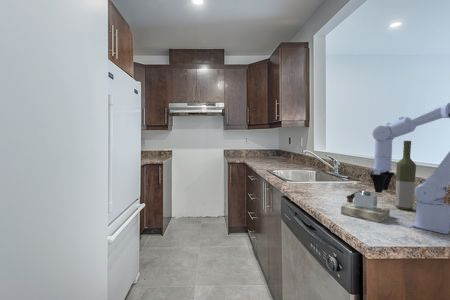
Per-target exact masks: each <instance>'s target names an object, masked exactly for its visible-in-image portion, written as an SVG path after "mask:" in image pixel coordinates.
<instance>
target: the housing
mask: <svg viewBox="0 0 450 300" xmlns="http://www.w3.org/2000/svg"><path fill="white" fill-rule="evenodd" d="M361 191H362V192H358V191H357V192H358V193H355V192H354V193H355V197H354V198H353V200H354V201H353V202H354V206H357V207H363V208H368V209H375V208H377V206H378V194H373V193H372V192H371V191H368V190H361Z"/></svg>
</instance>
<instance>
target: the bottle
mask: <svg viewBox="0 0 450 300" xmlns="http://www.w3.org/2000/svg"><path fill="white" fill-rule="evenodd" d="M411 147H412V140H403V149H402V150H403V152H402V154H403V155H402V158H401V159H400V160H399V161H397V162H396V177H395V182H396V183H395V207H396V208H397V209H399V210H403V211H411V210H413V209H414V199H415V198H414V197H415V188H416V187H415V185H416V184H415V183H416V173H417V171H416V170H417V164H416V162H414V161H413V160H412V158H411V152H412V151H411V149H412V148H411Z"/></svg>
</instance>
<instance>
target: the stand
mask: <svg viewBox="0 0 450 300" xmlns="http://www.w3.org/2000/svg"><path fill="white" fill-rule="evenodd" d="M390 212H391V209H390V208H389V207H383V206H378V205H377V208H375V209H368V208H363V207H357V206H354V201H353V202H351V203H349V202H347V203H346V204H344V205H341V208H340V215H341V214H342V215H345V216H348V217H349V216H351V217H355V218H358V219H362V220H363V219H364V220H368V221H370V222H371V221H372V222H377V223H381V222H383V221H384V220H386V219H387V218H389V217H390V214H391V213H390Z"/></svg>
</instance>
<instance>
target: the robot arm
mask: <svg viewBox="0 0 450 300" xmlns="http://www.w3.org/2000/svg"><path fill="white" fill-rule="evenodd" d="M441 119H450V102H448V103H444V104H442V105H440V106H438V107H435V108H433V109H431V110H427V112H423V113H421V114H420V115H418V116H414V117H408V116H405V117H404V116H401V117H399V118H398V119H397V120H395V121H393V122H387V123H385V125H378V126H376V127H375V128H374V129H373V131H372V136H373V137H372V138H373V139H374V160H373V161H374V162H373V163H374V164H373V166H371V167H370V170H373V172H372V173H369V176H370V178H371V181H372V184H373V188H374V192H375V193H378V194H382V193H383V191H388V190H389V187H390V183H391V180H392V178H393V177H394V176H395V172H391V171H392V169H393V168H392V158H393V157H392V155H393V152H392V151H393V140H394V139H396V138H399V137H401V136H404V135H406V134H409V133H413V132H414V131H415V130H416V128H417V127H419V126H423V125H425V124H428V123H432V122H435V121H437V120H441ZM449 186H450V150H449V152H447V154H446V156H445V157H444V158H443V160H442V161H440V163H439V164H438V165H437V167H436V169H435V170H434V171H433V173H432V174H431V175H430V176H428V177H427V178H426V179H425V180H424V181H423V182H422V183H420V184H418V185H417V186H416V187H415V188H414V197H416V208H415V211H416V212H415V222H414V223H413V224H412V227H413V228H417V229H422V230H426V231H431V232H435V233H441V234H445V235H449V233H450V204H445V202H444V200H443V198H445V197H446V195H447V190H448V187H449Z"/></svg>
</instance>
